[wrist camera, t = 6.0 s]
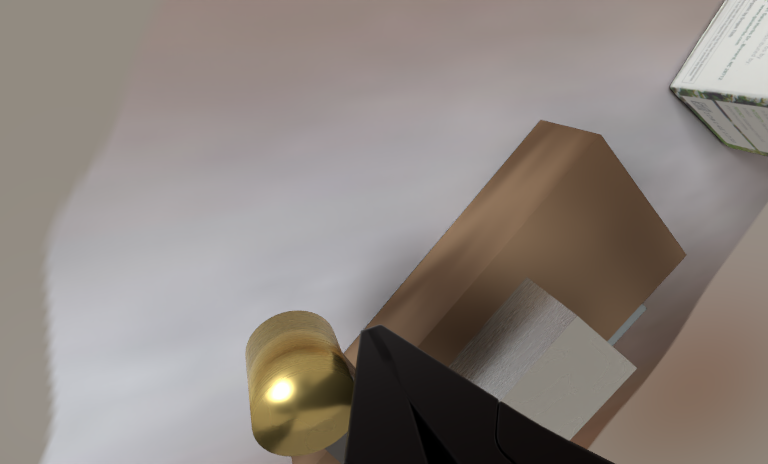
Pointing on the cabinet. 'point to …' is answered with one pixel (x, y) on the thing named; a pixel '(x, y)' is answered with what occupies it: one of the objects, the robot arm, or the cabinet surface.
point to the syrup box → (731, 76)
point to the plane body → (535, 249)
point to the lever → (299, 386)
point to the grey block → (543, 361)
